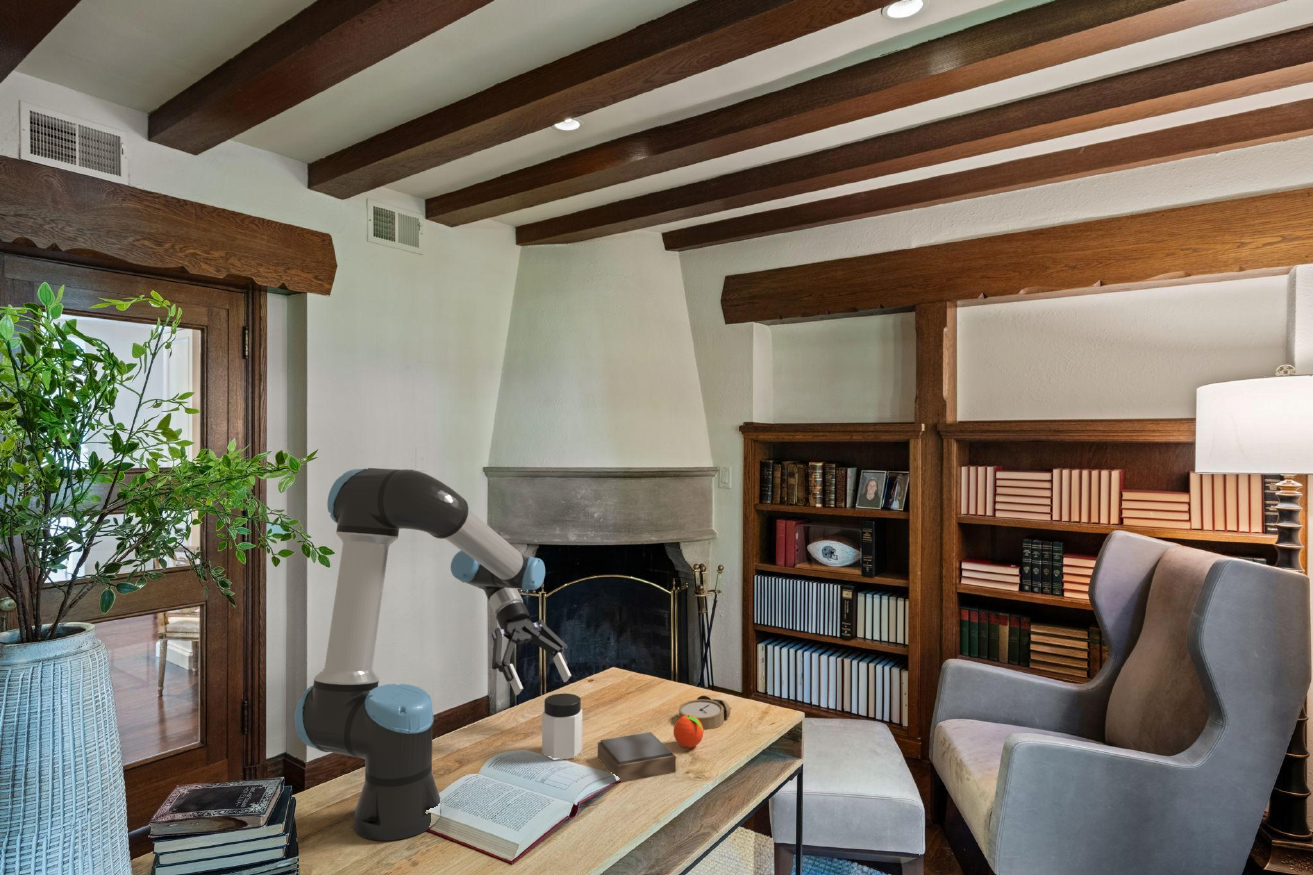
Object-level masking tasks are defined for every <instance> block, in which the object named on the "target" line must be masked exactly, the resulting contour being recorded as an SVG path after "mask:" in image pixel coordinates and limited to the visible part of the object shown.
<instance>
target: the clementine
mask: <svg viewBox="0 0 1313 875" xmlns="http://www.w3.org/2000/svg"><path fill="white" fill-rule="evenodd" d="M704 731H705V730H703V726H702V724H701V722H700V721H699V720H698V719H697V718H696V717H694V716H691V715H686V716H683V717H681V718H679V719H678V720H676V721H675V724H674V725H673V737H674V738H675V741H676V743H677V744H679V745H680V746H681V747H683V748H688V749H689V748H690V749H691V748H694V747H696V746H698V745H699V744H700V742H702V739H703V737H704Z"/></svg>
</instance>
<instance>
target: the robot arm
mask: <svg viewBox="0 0 1313 875" xmlns="http://www.w3.org/2000/svg"><path fill="white" fill-rule="evenodd" d="M326 503H327V504H326V505H327V512H328V513H329V514H330V515H329V516H330V519H331V520H332V521H334V523H336V524H337V525H336V531H335V533H336V535H337V536H338V537H339V539H340V540H341V541H342V548H341V554H340V560H339V569H338V575H337V581H336V583H337V584H336V588H335V596H334V602H333V609H332V615H331V616H332V617H331V621H330V628H329V629H330V630H329V636H328V641H327V642H328V643H327V650H326V655H325V657H326V658H325V663H324V667H323V669H322V671H320V672H319V673H317V674H316V675H315V676H314V679H313V683H312V684H313V685H311V686H309V687H308V688H307V689H306V690H305V691H304V692H303V693H302V697H300V698H299V699H298V702H297V704H296V708H295V711H294V727H295V728H294V729H295V731H296V734H297V736H298V738H299V740H301V741H302V742H303V743H304V745H306V746H308V747H309V748H314V749H317V750H318V751H320V752H322V753H323V752H324V753H334V754H339V755H344V756H348V757H353V758H359V759H363V760H365V761H364V762H365V763H364V766H365V767H364V771H365V773H364V784H363V787H362V790H361V793H360V795H359V798H358V801H357V805H356V806H355V807H356V808H355V810H354V817H353V827H354V831H355V832H356V834H358V835H359V836H360V837H363V838H365V839H368V840H372V841H397V840H401V839H402V840H404V839H407V838H410V837H414V836H417V835H419V834H423V833H424V832H426V831H428V830H430V828H429V826H430V823H431V813H428V814H426V813H425V812H426V810H429V809H430V808H434V807H436V806H438V804H439V803H440V799H441V797H440V793H439V790H438V788H437V783H436V781H435V779H434V775H433V732H434V731H433V730H434V711H433V701H432V698H431V697H432V696H430V694H429V693H428V692H427V691H426V690H424V689H423V688H421V687H418V686H415V685H411V684H407V683H400V684H395V683H389V684H382V685H380V686H379V683H380V682H379V681H380V679H379V678H380V677H379V676H378V675H377V674H376V672H375V671H374V670H373V666H374V665H373V664H374V657H375V650H376V641H377V636H378V635H377V634H378V628H379V621H380V614H381V606H382V600H383V599H382V598H383V593H384V592H383V591H384V583H385V578H386V577H385V576H386V570H387V563H388V562H387V561H388V557H389V556H388V554H389V548H390V546H391V545H392V544H393V543H394V542H395V541H396V540H398V539H399V533H400V529H406V530H413V531H414V530H415V531H420V532H421V531H422V532H424V533H427V534H429V535H431V536H432V537H434V538H436V539H438V540H439V539H440V540H444V539H445V540H446V541H448V542H449V543H451V544H452V545H453V546H454V547H456V548H458V549H459V550H460V551H458V552H456V553H455V554H454V556H453V557H452V559H451V562H450V572H451V575H452V576H453V577H454V579H457V580H458V581H460V582H462V583H466V584H468V585H471V586H473V587H475V588H477V589H480V590H483V591H484V593H485V596H486V598H487V601H488V602H489V605H490V608H491V609H492V611H493V613H494V616H495V618H496V621H497V623H498V625H499V627H495V629H494V630H493V631H492V634H491V637H492V638H491V639H492V640H493V645H492V646H493V647H492V659H491V661H492V662H491V669H492V670H495V671H496V670H497V669H498V672H499V673H502V674H503V676H504V678H505V680H506V683H507V682H509V683H510V685H511V688H512V690H513V693H514V696H518V695H520V694H521V692H522V691H523V690H524V687H523V685H522V682H521V681H520V678H519V676H518V673H517V671H516V669H515V666H514V664H513V663H509V662H510V661H511V657H512V654H513V652H514V649H515V645H517V646H519V645H521V644H528V643H530V644H532V645H536V646H538V647H539V648H540V649H542V650H544V651H545V652H547V653H549V654H550V655H552V656H553V658H552V660H553V662H554V664H555V666H556V669H557V670H558V673H559V675H560V677H561V679H562V681H563V683H567V681H569V679H570V678H571V677H572V674H571V672H570V670H569V668H568V661H567V659H566V656H565V654H564V652H565V651H566V650H567V649H568V645H567V644H566V643H565V642H564V641H563V640H562V639H561V638H560V637H559V636H558V635H557V634H555V632H554V631H553V630H551V629H550V628H549V627H548V626H547V624H546V623H545V621H544V620H543V619H542V618H540V619H539V620H538V621H536V622H532V621H531V619H530V613H529V611H528V609H527V607H526V605H525V603H524V600H523V598H522V596H521V594H520V592H519V590H523V591H526V590H531V591H532V590H533V591H534V590H537V589H539V588H540V587H541V586H542V585H543V583H544V581H545V580H544V579H545V576H546V567H545V563H544V561H543V560H542V559H541V558H538V557H533V556H525V555H524V554H522V553H521V552H520V551H519V550H517V549H516V548H515V547H514V546H512V545H511V543H509V542H508V541H507V540H506V539H505V538H504V537H502V536H501V535H500V534H498V533H497V532H496V531H495V530H494V529H493V528H492V527H490V526H489V525H488V524H487V523H485V522H484V520H482V519H481V518H480V517H478V516H477V515H476V514H475V513H474V512H472V510H470V506H469V503H468V502H467V501H466V499H465V498H464V497H463V496H461V495H460V494H459V493H458V492H457V491H455V490H454V489H452V488H451V487H450V486H448V485H447V484H445V483H444V482H442V481H440V480H439V479H437V478H436V477H434V476H431V475H430V474H427V473H424V472H422V471H419V470H416V469H415V470H414V469H407V468H406V469H398V468H393V469H392V468H379V467H378V468H376V467H374V468H373V467H365V468H353V469H350V470H348V471H345V472H344V473H343V474H342V475H341V476H339V477H338V478H337V479H336V480H335V481H334V482H333V484H332V486H331V488H330V490H329V492H328V497H327V502H326ZM503 637H505V638H506V639H508V641H507V644H506V648H505V651H504V653H503V657H502V650H503V649H502V648H503Z"/></svg>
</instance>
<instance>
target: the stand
mask: <svg viewBox="0 0 1313 875" xmlns="http://www.w3.org/2000/svg"><path fill="white" fill-rule="evenodd" d="M598 758H599V759H600V760H601V761H600V760H599V759H598ZM597 759H598V760H599V761H600V763H601V762H602V763H603V764H604V765H605V766H604V765H603V764H602V763H601V764H602V765H603V766H604V768H605V769H606V768H607V769H608V770H609V771H610V772H612V774H615V775H616V776H618V777H619V778H620V779H621V781H622V782H621V783H624V782H631V781H635V780H640V779H646V778H651V777H652V778H653V777H657V776H663V775H667V774H672V773H676V771H677V768H676V766H677V765H676V764H677V763H676V762H677V760H676V759H677V756H676V755H675V754H674V753H673V751H672V750H670V748H668V747H667V746H666V744H664V743H663V742H662V741H661V740H660V739H658V737H656V735H654V734H653V732H651V731H650V732H643V733H637V734H631V735H625V736H618V737H613V738H607V739H600V741H599V742H597ZM607 769H606V770H607ZM608 770H607V771H608ZM609 771H608V772H609ZM610 772H609V773H610Z"/></svg>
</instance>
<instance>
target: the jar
mask: <svg viewBox="0 0 1313 875" xmlns="http://www.w3.org/2000/svg"><path fill="white" fill-rule="evenodd" d="M581 703H582V699H581V697H580V696H578V695H576V694H573V693H554V694H551V695H548V696H547V697H545V699H544V708H543V710H544V711H543V712H542V713H541V714H542V720H541V721H542V722H541V724H542V725H541V727H542V729H541V733H542V734H541V735H542V738H541V739H542V741H541V742H542V744H541V745H542V746H541V754H542V755H543V754H545V755H546V756H551V757H552V758H560V759H566V760H570V759H569V758H574V759H575V758H576V757H577V756H578V755H580V753H581V752H582V751H583V709H582V705H581ZM577 754H578V755H577ZM545 755H544V756H545ZM546 756H545V757H546ZM575 756H576V757H575Z"/></svg>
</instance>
